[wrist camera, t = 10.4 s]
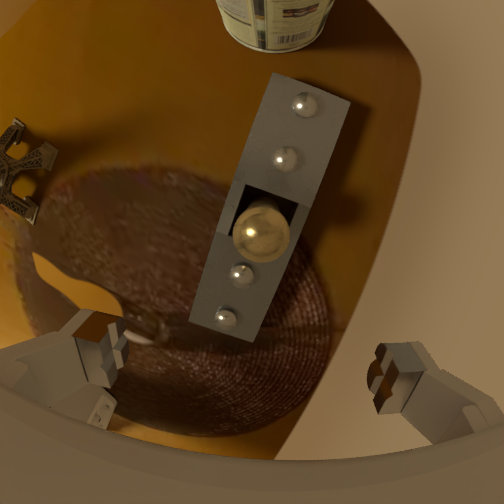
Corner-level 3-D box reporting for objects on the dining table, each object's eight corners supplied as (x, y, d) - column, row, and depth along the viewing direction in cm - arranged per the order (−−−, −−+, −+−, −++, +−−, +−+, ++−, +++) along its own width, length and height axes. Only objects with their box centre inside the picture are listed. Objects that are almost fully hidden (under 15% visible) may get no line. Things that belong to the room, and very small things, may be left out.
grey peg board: (254, 326, 32) (252, 345, 29) (194, 306, 32) (186, 324, 28) (342, 107, 24) (352, 101, 21) (272, 80, 24) (273, 70, 20)
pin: (264, 241, 29) (263, 273, 21) (233, 214, 28) (221, 237, 21) (292, 211, 28) (301, 234, 20) (261, 183, 27) (259, 195, 20)
